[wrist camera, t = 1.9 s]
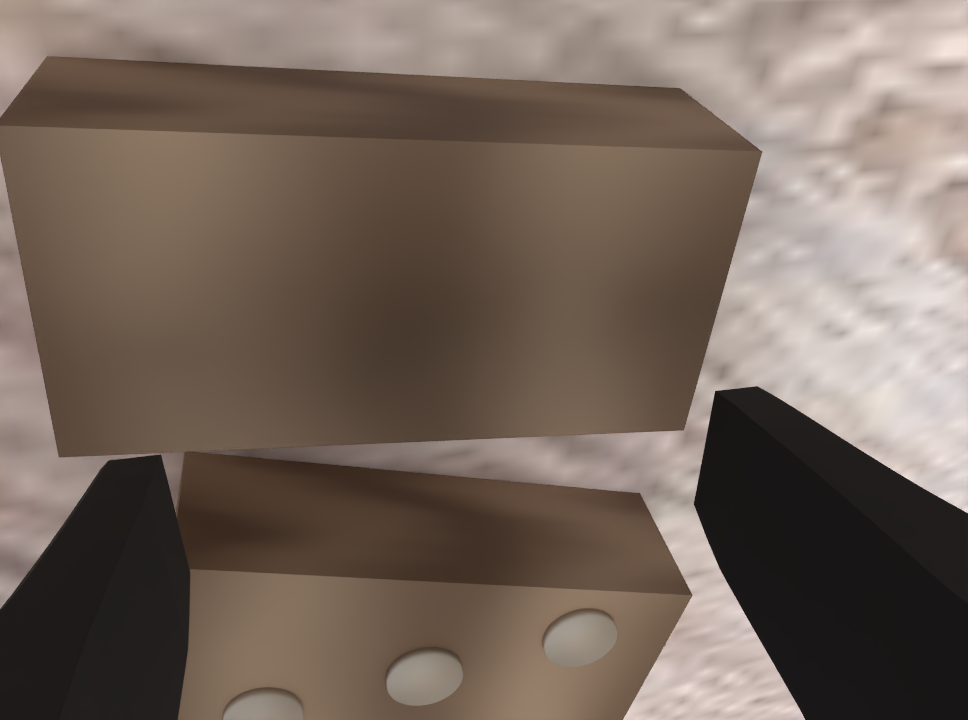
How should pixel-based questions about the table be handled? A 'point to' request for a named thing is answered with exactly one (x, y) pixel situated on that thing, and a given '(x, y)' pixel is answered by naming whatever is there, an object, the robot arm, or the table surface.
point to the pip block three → (416, 595)
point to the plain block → (364, 254)
